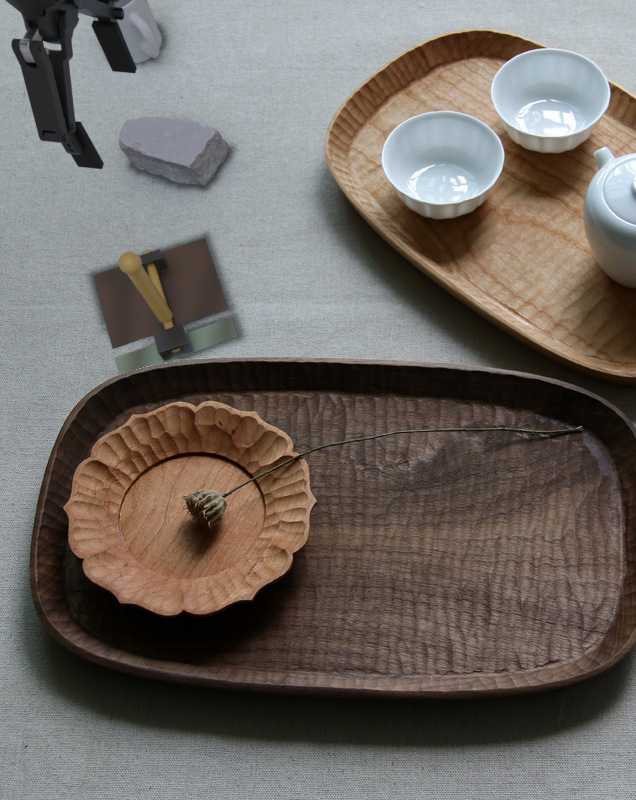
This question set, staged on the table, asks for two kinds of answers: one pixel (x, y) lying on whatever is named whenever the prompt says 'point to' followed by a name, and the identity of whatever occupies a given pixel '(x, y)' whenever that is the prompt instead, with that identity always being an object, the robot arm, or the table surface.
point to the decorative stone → (174, 148)
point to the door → (186, 298)
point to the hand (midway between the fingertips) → (108, 116)
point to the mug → (139, 29)
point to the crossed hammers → (147, 286)
